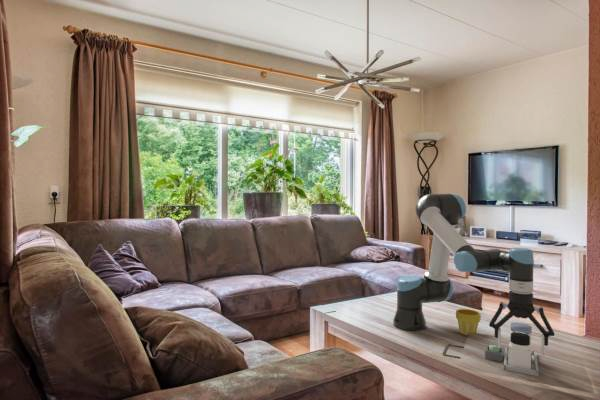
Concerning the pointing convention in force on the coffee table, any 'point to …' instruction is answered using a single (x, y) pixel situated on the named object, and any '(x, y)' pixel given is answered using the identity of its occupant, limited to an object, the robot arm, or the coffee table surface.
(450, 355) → the frame
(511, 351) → the medicine bottle
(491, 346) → the button
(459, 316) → the plant pot
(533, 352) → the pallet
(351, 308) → the coffee table surface
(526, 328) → the cream and blue canister
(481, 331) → the coffee table surface
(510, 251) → the robot arm
